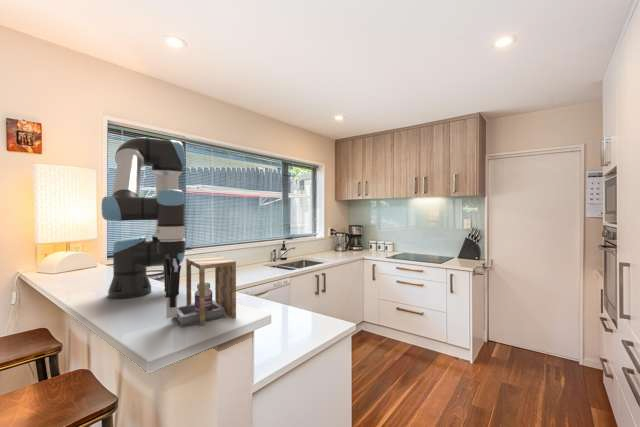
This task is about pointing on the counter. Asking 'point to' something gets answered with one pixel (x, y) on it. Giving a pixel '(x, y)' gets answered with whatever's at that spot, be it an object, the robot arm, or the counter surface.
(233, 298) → the counter shelf
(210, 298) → the pill bottle
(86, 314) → the counter surface
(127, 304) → the counter surface
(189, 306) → the tray
